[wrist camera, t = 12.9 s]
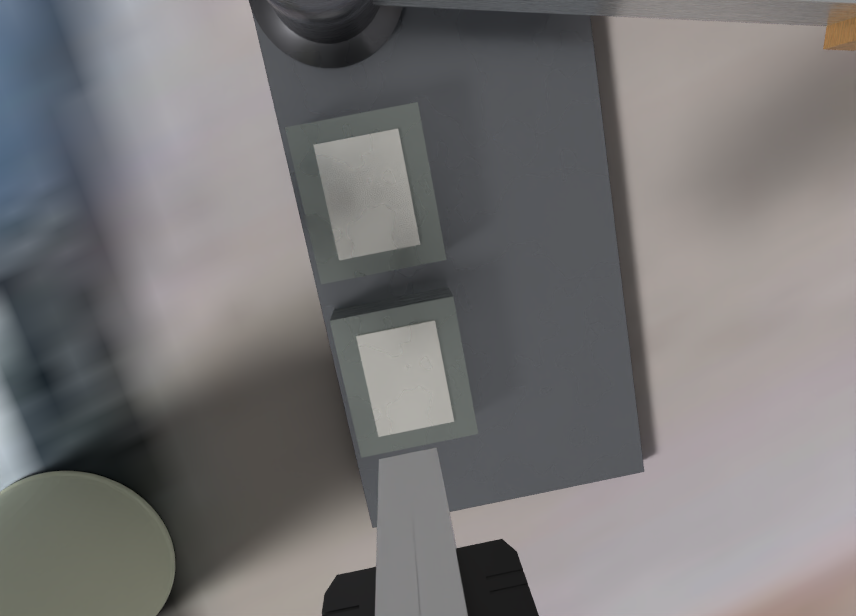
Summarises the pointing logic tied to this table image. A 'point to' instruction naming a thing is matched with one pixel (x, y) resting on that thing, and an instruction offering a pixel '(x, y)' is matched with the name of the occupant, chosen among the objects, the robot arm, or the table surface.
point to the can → (81, 548)
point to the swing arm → (578, 13)
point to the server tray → (463, 244)
